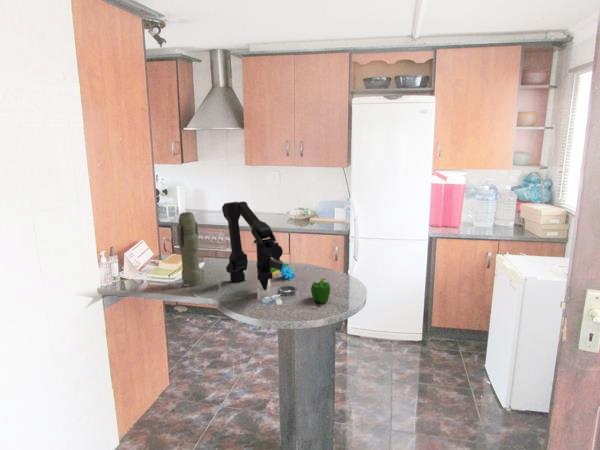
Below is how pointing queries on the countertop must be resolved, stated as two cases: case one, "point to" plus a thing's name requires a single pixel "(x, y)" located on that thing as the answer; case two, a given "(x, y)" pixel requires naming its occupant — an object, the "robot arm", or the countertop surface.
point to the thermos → (189, 249)
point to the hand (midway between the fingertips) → (264, 287)
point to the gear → (287, 272)
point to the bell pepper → (320, 291)
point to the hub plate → (278, 292)
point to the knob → (267, 286)
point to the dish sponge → (277, 269)
